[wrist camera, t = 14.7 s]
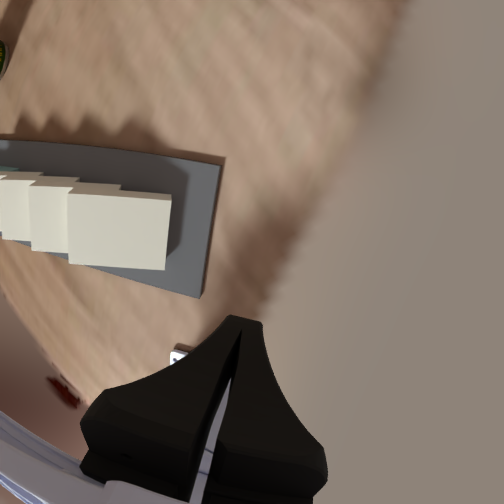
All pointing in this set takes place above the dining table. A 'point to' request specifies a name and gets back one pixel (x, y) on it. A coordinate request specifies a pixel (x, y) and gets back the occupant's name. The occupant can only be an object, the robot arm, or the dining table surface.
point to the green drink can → (3, 58)
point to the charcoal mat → (141, 180)
